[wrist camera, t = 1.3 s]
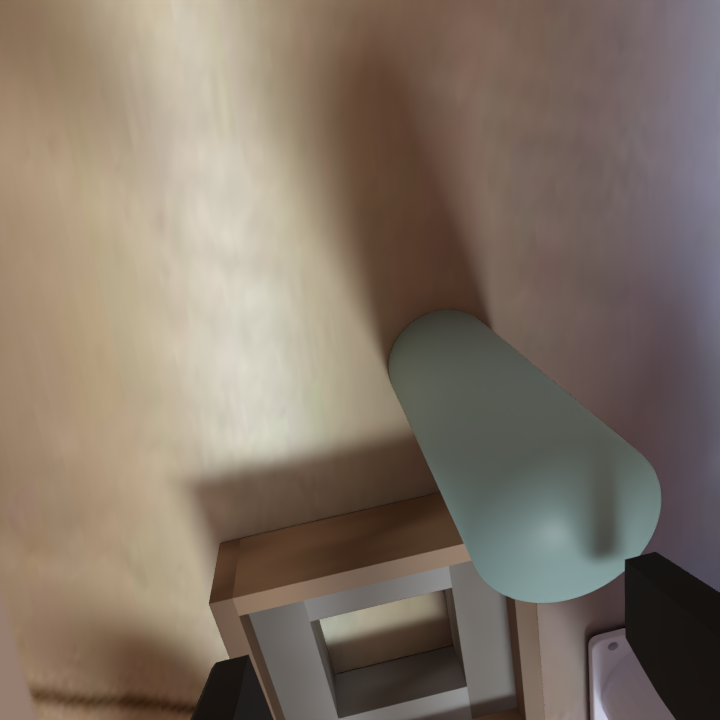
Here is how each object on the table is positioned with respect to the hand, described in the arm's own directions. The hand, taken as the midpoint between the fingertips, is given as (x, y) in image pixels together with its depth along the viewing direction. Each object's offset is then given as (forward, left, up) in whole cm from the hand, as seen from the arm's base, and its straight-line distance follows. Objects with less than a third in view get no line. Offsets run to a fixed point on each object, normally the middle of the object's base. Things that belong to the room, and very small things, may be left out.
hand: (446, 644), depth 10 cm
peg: (-3, -1, -10) cm, 10 cm away
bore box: (+1, +10, -10) cm, 14 cm away
